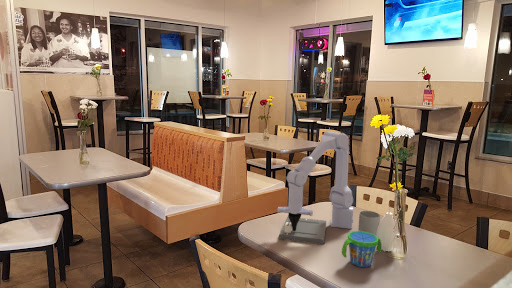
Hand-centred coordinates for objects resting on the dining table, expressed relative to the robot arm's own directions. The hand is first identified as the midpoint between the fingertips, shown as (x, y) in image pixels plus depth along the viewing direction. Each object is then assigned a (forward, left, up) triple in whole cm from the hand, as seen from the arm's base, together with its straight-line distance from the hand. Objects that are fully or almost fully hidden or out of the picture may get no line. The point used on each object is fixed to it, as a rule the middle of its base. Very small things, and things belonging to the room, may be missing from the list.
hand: (294, 230), depth 151 cm
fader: (+3, 0, -1) cm, 3 cm away
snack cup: (-27, +16, -3) cm, 31 cm away
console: (-4, -7, -3) cm, 8 cm away
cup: (-31, -9, -3) cm, 32 cm away
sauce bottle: (-37, +3, -3) cm, 37 cm away
